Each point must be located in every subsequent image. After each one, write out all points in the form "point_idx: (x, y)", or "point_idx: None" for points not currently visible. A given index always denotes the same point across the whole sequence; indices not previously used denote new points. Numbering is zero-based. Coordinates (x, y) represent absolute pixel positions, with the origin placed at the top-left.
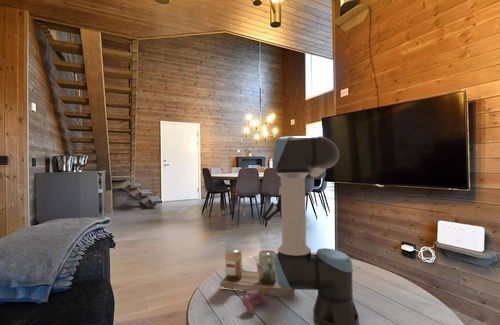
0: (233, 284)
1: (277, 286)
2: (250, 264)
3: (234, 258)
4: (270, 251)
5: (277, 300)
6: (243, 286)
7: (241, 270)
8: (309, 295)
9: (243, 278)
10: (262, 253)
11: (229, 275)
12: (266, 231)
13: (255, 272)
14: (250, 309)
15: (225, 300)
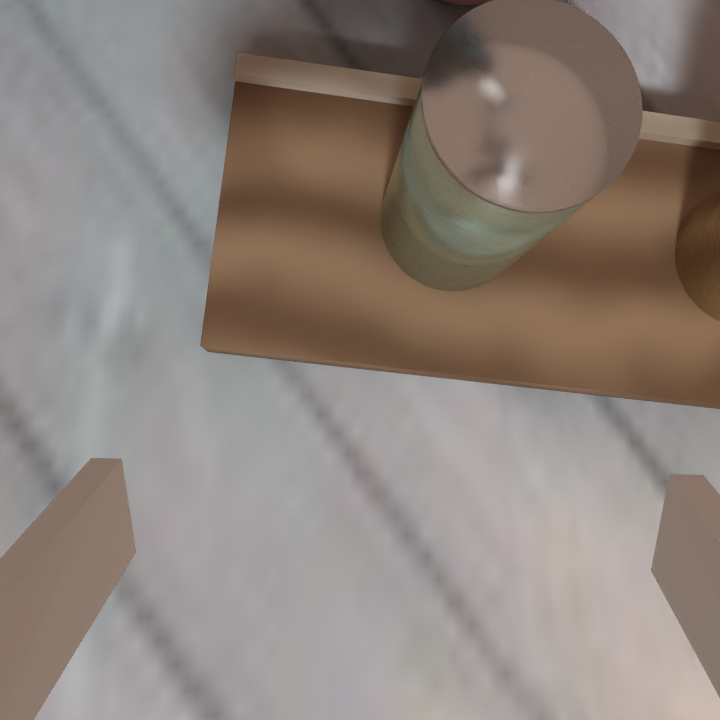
0: (711, 125)
1: (365, 128)
2: (656, 671)
3: None
4: (497, 159)
5: (357, 43)
6: None
7: (716, 229)
8: (121, 122)
9: (658, 245)
10: (593, 79)
11: None
12: (710, 498)
13: (578, 373)
14: None
15: (700, 23)
